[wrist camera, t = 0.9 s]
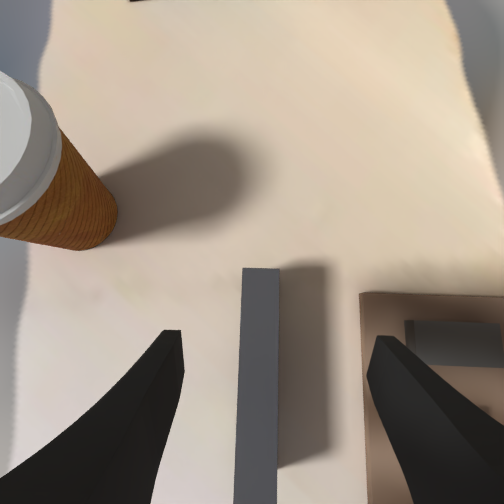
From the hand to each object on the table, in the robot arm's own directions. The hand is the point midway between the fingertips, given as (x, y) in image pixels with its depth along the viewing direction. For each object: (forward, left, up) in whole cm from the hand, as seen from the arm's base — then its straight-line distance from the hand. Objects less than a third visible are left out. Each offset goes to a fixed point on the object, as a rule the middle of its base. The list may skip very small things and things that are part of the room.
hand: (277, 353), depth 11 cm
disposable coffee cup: (+10, +17, -13) cm, 24 cm away
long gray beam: (-2, +1, -13) cm, 14 cm away
